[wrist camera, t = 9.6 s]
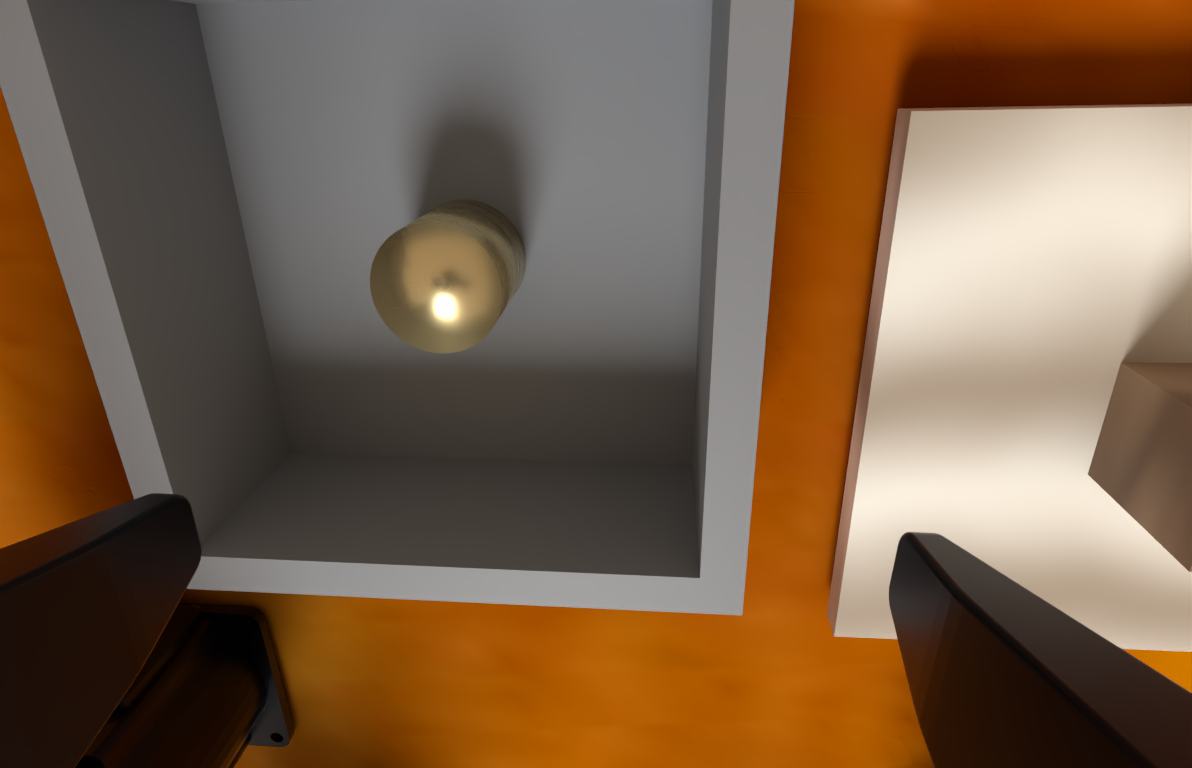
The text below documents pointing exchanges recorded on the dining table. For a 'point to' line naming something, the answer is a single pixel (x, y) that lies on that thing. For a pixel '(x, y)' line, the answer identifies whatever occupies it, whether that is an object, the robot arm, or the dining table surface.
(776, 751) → the dining table surface
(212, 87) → the box
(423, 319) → the brass piece
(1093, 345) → the lid
